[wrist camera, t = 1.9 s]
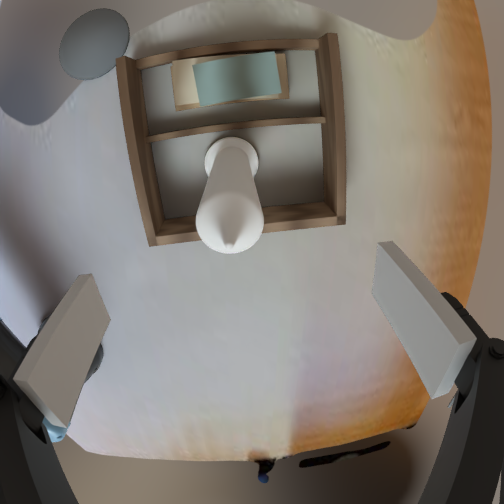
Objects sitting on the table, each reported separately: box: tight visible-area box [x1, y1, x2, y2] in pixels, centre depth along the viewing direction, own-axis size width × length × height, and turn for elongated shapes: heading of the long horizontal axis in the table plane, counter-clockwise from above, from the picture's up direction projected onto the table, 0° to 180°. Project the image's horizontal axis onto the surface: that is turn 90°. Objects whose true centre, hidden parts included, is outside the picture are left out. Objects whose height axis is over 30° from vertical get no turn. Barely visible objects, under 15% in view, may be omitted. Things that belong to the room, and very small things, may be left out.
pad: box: [59, 9, 129, 80], centre depth 29 cm, size 11×11×1 cm
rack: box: [115, 33, 346, 247], centre depth 34 cm, size 25×24×6 cm
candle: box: [196, 137, 264, 254], centre depth 28 cm, size 7×7×25 cm
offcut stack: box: [171, 51, 289, 111], centre depth 31 cm, size 14×6×6 cm, turn 95°
